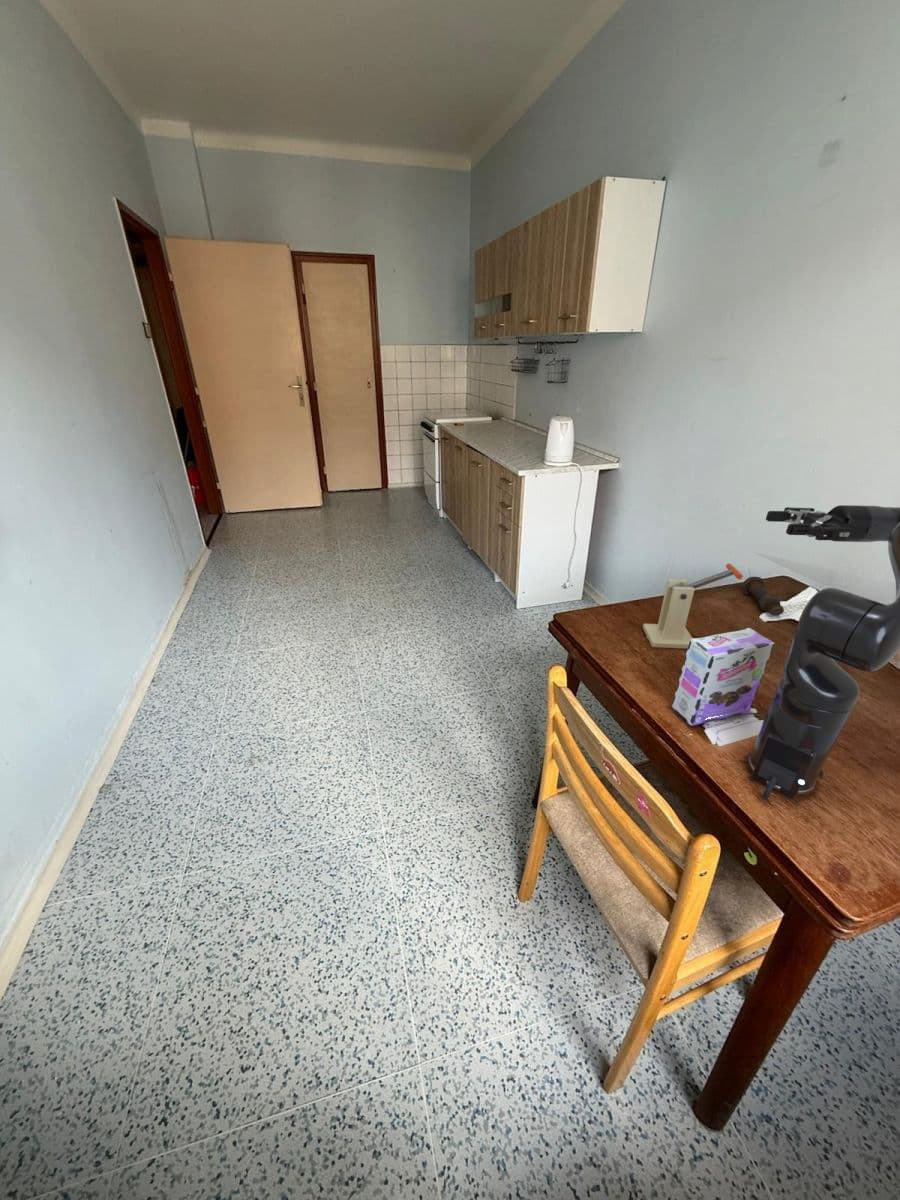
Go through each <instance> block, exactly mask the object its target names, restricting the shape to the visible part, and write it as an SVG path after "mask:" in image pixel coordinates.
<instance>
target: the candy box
mask: <svg viewBox="0 0 900 1200" xmlns="http://www.w3.org/2000/svg"><path fill="white" fill-rule="evenodd" d="M692 638H693V639H690V642H689V646H688V649H687V650H686V653H685V656H684V661H683V664H682V668H681V671H680V675H679V679H678V682H677V686H676V689H675V691H674V692H675V693H674V696H673V700H672V702H671V708H672V709H673V710H674V711H675V712H676V713H677V714H678V715H679V716H680V717H681V718H682V719H683V720H684V721H685V722H686V723H687V724H689V725H690V726H691V727H692V726H696V725H701V724H705V723H709V722H714V721H717V720H722V719H726V718H731V717H735V716H738V715H743V714H747V713H750V711H751V709H752V706H753V703H754V700H755V698H756V695H757V694H758V693H757V692H758V690H759V687H760V684H761V681H762V679H763V676H764V674H765V671H766V667H767V665H768V662H769V659H770V656H771V654H772V651H773V649H774V646H775V642H773V641H772V640H770V639H769V638H767V637H765V636H764V635H762V634H760V632H758V631H756V630H754V629H752V628H751V627H746V628H744V629H739V630H733V631H729V632H728V631H727V632H722V633H717V634H712V635H706V636H701V637H697V638H695V637H692ZM726 714H727V715H726ZM720 715H723V716H720ZM714 716H719V717H715V718H711V719H707V720H705V719H706V718H708V717H714Z"/></svg>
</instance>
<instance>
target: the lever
mask: <svg viewBox="0 0 900 1200" xmlns="http://www.w3.org/2000/svg"><path fill="white" fill-rule="evenodd" d="M725 568H726V569H727V570H724V571H722V572H719V573H716V574H714V575H711V576H708V577H705V578H703V579H700V580H697V581H694V582H691V583H688V585H686V586H685V585H684V584H683V583H680V584H677V585H674V586H672V587H671V590H672V591H673V587H693V588H694V589H695V590H696V589H698V588H700V587H703V586H707V585H709V584H712V583H714V582H717V581H720V580H723V579H727V578H728V577H731V576H734V577H735V578H736V579H737V580H742V579H743V577H744V575H743V574H742V573H741V572H740V571H739V570H738V569H737V568H736V567H735V566H734V565H733V564H731V563H727V564H725Z"/></svg>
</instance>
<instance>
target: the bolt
mask: <svg viewBox="0 0 900 1200" xmlns="http://www.w3.org/2000/svg"><path fill="white" fill-rule="evenodd" d="M741 587H742V590H743V592H744V594H745V595H750V596H751V595H753V596H754V597H755V599H756V600H757V601H758V605H759V607H760V609H761V610H762V612H767V613H769V614H770V615H771V616H773V617H777V616H778V617H779V616H780V614H781V615H782V614H784V612H785V608H784V607H783V605H781V600H780V598H779V596H778V595H777V594H771V593H770V592H769V591H768V590H767V589H766V586H765V582H764V580H763V578H762V577H760V576H749V577H747V578H746V579H744V581H743V582H742V583H741Z"/></svg>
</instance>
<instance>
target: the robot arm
mask: <svg viewBox="0 0 900 1200" xmlns="http://www.w3.org/2000/svg"><path fill="white" fill-rule="evenodd" d="M815 510H816V508H813V507H790V506H786V507H784V510H768V512H767V514H766V517H765V521H766V522H777V523H779V522H781V523H782V522H783V523H789V524H788V525H787V527H786V530H785V534H787V535H788V536H806V537H809V538H814V540H816V541H832V542H839V543H840V542H842V543H845V542H846V543H874V542H887V551H888V556H889V562H890V566H891V570H892V572H893V576H894V581H895V599H894V601H893V602H891V603H890V604H886V603H882V602H879V601H876V600H873V599H869V598H866V597H865V596H864V597H863V596H860V595H858V594H855V593H852V592H849V591H845V590H842V589H839V588H836V587H835V588H834V587H826V588H825V587H824V588H822V589H820V590H819V591H817V592H816V593H814V595H812V597H810V599H809V600H808V602H807V603H806V605H805V606H804V608H803V610H802V613H801V615H800V617H799V620H798V622H797V624H796V628H795V631H794V634H793V637H792V641H791V644H790V648H789V651H788V653H787V657H786V660H785V663H784V665H783V670H782V674H781V676H780V679H779V682H778V684H777V687H776V690H775V692H774V695H773V697H772V699H771V702H770V704H769V706H768V709H767V712H766V715H765V717H764V720H763V723H762V725H761V727H760V730H759V732H758V735H757V737H756V739H755V741H754V746H753V748H752V750H751V751H750V753H749V756H748V759H747V765H748V769H749V770H750V772H751V779H753V780H755V781H757V782H759V783H761V784H763V785H765V786H766V787H765V789H764V791H763V793H762V795H761V798H762V800H764V801H768V800H769V798H770V796H771V794H772V792H773V790H774V791H776V792H778V793H780V794H782V795H784V796H785V797H788V798H789V799H791V800H795V799H796V797H798V796H805V795H808V794H810V793H811V792H813V790H814V788H815V787H816V784H817V780H818V778H819V779H820V780H822V778H823V776H824V773H825V772H824V771H823V769H824V767H825V765H826V763H827V760H828V758H829V757H830V755H831V753H832V750H833V749H834V747H835V744H836V743H837V741H838V739H839V737H840V735H841V733H842V731H843V729H844V727H845V725H846V723H847V721H848V719H849V718H850V715H851V714H852V711H853V709H854V707H855V706H856V704H857V702H858V700H859V697H860V691H861V690H860V686H859V684H858V682H857V681H856V680H855V678H854V677H852V676H851V675H850V674H849V672H848V671H846V670H845V669H844V668H842V667H841V666H840V665H839V664H838V663H837V662H839V663H841V664H844V665H846V666H848V667H850V668H854V669H856V670H859V671H863V672H866V673H872V672H873V673H874V672H876V671H878V670H880V669H882V668H883V667H884V666H886V665H887V664H888V663H889V662H890V661H892V659H893V658H894V657H895V656H896V654H897V653H898V652H899V651H900V507H899V506H898V507H895V506H892V507H891V506H880V505H849V504H848V505H847V504H846V505H841V504H839V505H836V506H834V507H833V508H831V510H829V511H828V512H827V513H826V511H820V510H816V511H815ZM801 521H802V522H801ZM836 661H837V662H836Z"/></svg>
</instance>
